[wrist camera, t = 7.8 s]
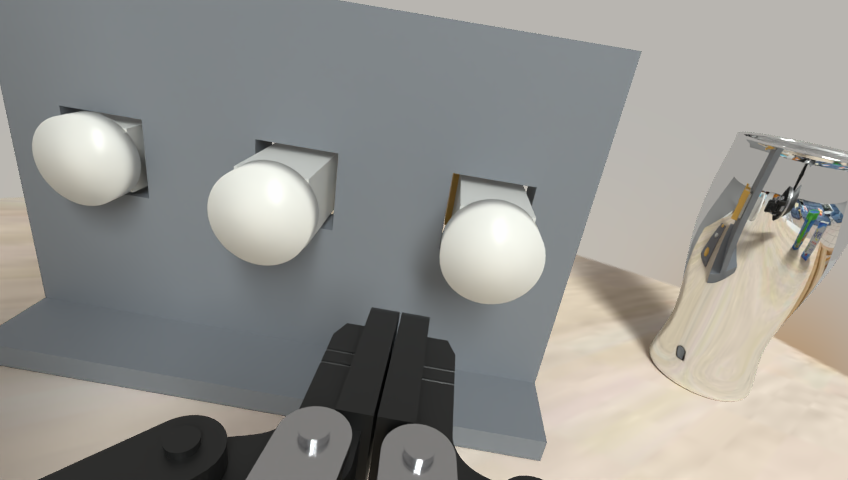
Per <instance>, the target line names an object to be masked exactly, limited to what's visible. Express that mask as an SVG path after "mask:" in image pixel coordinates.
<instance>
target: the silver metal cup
mask: <svg viewBox="0 0 848 480" xmlns="http://www.w3.org/2000/svg"><path fill="white" fill-rule="evenodd" d="M847 244H848V152H847V151H843V150H839V149H834V148H831V147H826V146H822V145H817V144H813V143H808V142H803V141H798V140H794V139H788V138H783V137H778V136H772V135H766V134H760V133H752V132H738V133H737V136H736V139H735V141H734V143H733V145H732V146H731V148H730V150H729V152H728V154H727V156H726V157H725V159H724V161H723V163H722V165H721V167H720V169H719V171H718V172H717V174H716V176H715V178H714V180H713V182H712V184H711V187H710V189H709V191H708V193H707V195H706V198H705V199H704V202H703V205H702V207H701V210H700V213H699V215H698V218H697V220H696V224H695V227H694V231H693V235H692V238H691V242H690V247H689V251H688V256H687V261H686V265H685V270H684V275H683V280H682V285H681V288H680V292H679V296H678V299H677V302H676V304H675V307H674V309H673V311H672V313H671V315H670V317H669V318H668V320H667V322H666V323H665V324H664V326H663V327H662V328H661V330H660V331H659V332H658V334H657V335H656V337H655V338H654V339H653V341H652V343H651V345H650V347H649V354H650V357H651V359H652V361H653V363H654V364H655V365H656V367H657V368H658V369H659V370H660V371H661V372H662V373H663V374H664V375H666V376H667V377H668V378H669V379H671V380H672V381H674V382H675V383H677V384H678V385H680V386H682V387H683V388H685V389H687V390H689V391H691V392H693V393H696V394H698V395H700V396H703V397H706V398H709V399H713V400H718V401H724V402H735V401H740V400H743V399H745V398H746V397H747V396H748V395H749V393H750V391H751V389H752V386H753V383H754V379H755V375H756V372H757V368H758V364H759V362H760V359H761V356H762V354H763V352H764V350H765V348H766V346H767V345H768V343H769V342H770V340H771V339H772V337H773V336H774V334H775V333H776V332H777V331H778V330H779V329H780V327H781V326H782V325H783V324H784V322H785V321H786V320H787V319H788V318H789V317H790V316H791V315H792V314H793V313H794V311H795V310H796V309H797V308H798V307H799V306H800V305H801V304H802V303H803V302H804V301H805V299H806V298H807V297H808V296H809V295H810V294H811V292H812V291H813V290H814V289H815V288H816V287H817V286H818V285H819V283H820V282H821V281H822V280H823V278H824V277H825V276H826V275H827V273H828V272H829V271H830V270H831V268H832V267H833V266H834V264H835V263H836V261H837V260H838V258H839V257H840V255H841V253H842V252H843V250H844V249H845V247H846V245H847Z"/></svg>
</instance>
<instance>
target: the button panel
mask: <svg viewBox="0 0 848 480" xmlns="http://www.w3.org/2000/svg"><path fill="white" fill-rule="evenodd" d="M640 55H641V51H636V50H631V49H625V48H619V47H612V46H606V45H601V44H595V43H589V42H583V41H577V40H571V39H565V38H559V37H553V36H547V35H541V34H536V33H529V32H524V31H518V30H512V29H506V28H500V27H494V26H488V25H482V24H476V23H470V22H464V21H458V20H453V19H447V18H440V17H434V16H429V15H423V14H417V13H410V12H405V11H399V10H393V9H387V8H381V7H375V6H369V5H363V4H357V3H352V2H346V1H340V0H0V85H1V90H2V95H3V100H4V104H5V109H6V114H7V118H8V123H9V128H10V133H11V137H12V142H13V147H14V151H15V156H16V160H17V165H18V170H19V175H20V179H21V184H22V188H23V193H24V198H25V203H26V207H27V212H28V217H29V221H30V226H31V231H32V235H33V240H34V245H35V249H36V254H37V259H38V263H39V268H40V273H41V277H42V282H43V287H44V291H45V296H46V298H44V299H42V300H41V301H39V302H38V303H36V304H34V305H33V306H31V307H30V308H28V309H26V310H25V311H23V312H22V313H20V314H18V315H17V316H15V317H13V318H12V319H10V320H9V321H7V322H5V323H4V324H2V325H1V326H0V365H2V366H7V367H13V368H19V369H24V370H30V371H36V372H41V373H47V374H52V375H58V376H64V377H69V378H75V379H81V380H86V381H92V382H98V383H103V384H109V385H115V386H120V387H126V388H132V389H137V390H143V391H149V392H154V393H160V394H165V395H171V396H177V397H182V398H188V399H194V400H199V401H205V402H211V403H216V404H222V405H228V406H233V407H239V408H245V409H250V410H256V411H262V412H267V413H273V414H278V415H284V416H287V415H289V414H290V413H292V412H294V411H296V410H299V408H300V406H301V404H302V401H303V399H304V397H305V395H306V393H307V390H308V388H309V386H310V384H311V382H312V380H313V377H314V375H315V373H316V371H317V369H318V366H319V364H320V363H321V360H322V358H323V355H324V353H325V351H326V350H327V347H328V344H329V342H330V340H331V338H332V336H333V334H334V333H335V332H336V331H338V330H339V329H340V328H341V327H343V326H344V325H345V324H347V323H350V324H355V325H361V326H365V324H366V321H367V318H368V315H369V313H370V310H371V308H372V307H374V308H380V309H386V310H392V311H397V312H400V316H399V323H400V319H401V315H402V312H404V313H409V314H415V315H421V316H427V317H430V322H429V330H428V337H430V338H436V339H442V340H447V341H448V342H449V344H450V346H451V348H452V350H453V351H454V353H455V382H454V409H453V443H454V446H459V447H465V448H471V449H476V450H482V451H488V452H493V453H499V454H504V455H510V456H516V457H521V458H527V459H533V460H538V461H540V460H541V457H542V454H543V452H544V449H545V446H546V443H547V441H546V436H545V431H544V426H543V422H542V417H541V412H540V407H539V402H538V397H537V393H536V388H535V380H536V377H537V374H538V371H539V368H540V365H541V362H542V359H543V355H544V352H545V349H546V346H547V343H548V340H549V337H550V334H551V331H552V328H553V324H554V321H555V318H556V315H557V312H558V309H559V306H560V303H561V300H562V297H563V293H564V290H565V287H566V284H567V281H568V278H569V275H570V272H571V269H572V266H573V262H574V259H575V256H576V253H577V250H578V247H579V244H580V241H581V238H582V235H583V231H584V228H585V225H586V222H587V219H588V216H589V212H590V209H591V206H592V204H593V200H594V197H595V194H596V191H597V188H598V185H599V182H600V179H601V176H602V172H603V169H604V166H605V163H606V160H607V157H608V154H609V151H610V148H611V144H612V142H613V138H614V135H615V132H616V129H617V126H618V123H619V120H620V117H621V114H622V110H623V107H624V104H625V101H626V98H627V95H628V92H629V89H630V86H631V83H632V79H633V76H634V73H635V70H636V67H637V64H638V61H639V58H640ZM79 111H94V112H100V113H106V114H112V115H117V116H123V117H129V118H135V119H141V120H142V128H143V139H144V149H145V159H146V170H147V180H148V186H146V187H144V188H142V189H140V190H137V191H135V192H129V193H127V194H125V195H123V196H121V197H119V198H117V199H114V200H112V201H110V202H108V203H106V204H103V205H98V206H86V205H81V204H78V203H75V202H72V201H70V200H68V199H66V198H65V197H63V196H61V195H60V194H59V193H57V192H56V191H55V190H54V189H53V188H52V187H51V186H50V185H49V184H48V183H47V182H46V181H45V179H44V178H43V177H42V175H41V174H40V172H39V170H38V168H37V166H36V163H35V161H34V157H33V152H32V141H33V136H34V133H35V131H36V129H37V127H38V126H39V125H40V124H41V123H42V122H43V121H45V120H46V119H48V118H51V117H53V116H58V115H64V114H69V113H74V112H79ZM272 142H275V143H281V144H286V145H292V146H298V147H304V148H310V149H316V150H321V151H327V152H333V153H339V154H338V166H337V179H336V192H335V205H334V214H330V215H329V217H328V218H327V219H326V221H325V222H324V223H323V225H322V226H321V227H320V229H319V230H318V231H317V233H316V234H315V235H314V237H313V238H312V239H311V241H310V242H309V243H308V245H307V246H306V247H304V248H303V249H302V251H301V252H300V253H299V254H298V255H297V256H295V257H294V258H293V259H291V260H289V261H287V262H285V263H282V264H278V265H270V266H265V265H257V264H253V263H250V262H247V261H244V260H242V259H240V258H238V257H237V256H235V255H234V254H232V253H231V252H230V251H228V250H227V249H226V248H225V247H224V246H223V245H222V244H221V242H220V241H219V240H218V238H217V237H216V235H215V234H214V232H213V230H212V228H211V225H210V222H209V218H208V211H207V204H208V198H209V195H210V192H211V190H212V188H213V186H214V185H215V183H216V182H217V181H218V180H219V179H220V178H221V177H222V176H224V175H225V174H227V173H228V172H230V171H232V170H234V166H235V165H237V164H239V163H240V162H242V161H244V160H246V159H248V158H249V157H251V156H253V155H255V154H257V153H258V152H260V151H262V150H264V149H265V148H267V147H269V146H271V145H272ZM453 173H455V174H461V175H467V176H473V177H479V178H485V179H490V180H496V181H502V182H508V183H514V184H520V185H526V186H528V188H527V192H526V194H527V197H528V199H529V202H530V204H531V207H532V209H533V211H534V214H535V216H536V221H535V223H536V225H537V227H538V230H539V233H540V235H541V238H542V240H543V243H544V247H545V254H546V258H545V265H544V269H543V272H542V274H541V276H540V278H539V280H538V281H537V282H536V284H535V285H534V286H533V287H532V288H531V289H530V290H529V291H528V292H527V293H525V294H524V295H522V296H521V297H519V298H517V299H515V300H512V301H509V302H506V303H501V304H482V303H477V302H474V301H471V300H468V299H466V298H464V297H463V296H461V295H459V294H458V293H457V292H456V291H454V290H453V289H452V288H451V286H450V285H449V284H448V283H447V281H446V280H445V278H444V276H443V274H442V271H441V267H440V257H439V256H440V247H441V238H442V234H443V233H442V229H443V224H444V219H445V213H446V208H447V202H448V197H449V192H450V186H451V181H452V175H453ZM399 323H398V327H399ZM397 331H398V330H397Z"/></svg>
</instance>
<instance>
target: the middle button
mask: <svg viewBox="0 0 848 480" xmlns="http://www.w3.org/2000/svg"><path fill="white" fill-rule="evenodd" d="M338 154H339V153H333V152H327V151H321V150H316V149H310V148H304V147H298V146H292V145H286V144H281V143H274V144H273V145H271V146H269V147H267V148H265V149H264V150H262V151H260V152H258V153H257V154H255V155H253V156H251V157H249V158H248V159H246V160H244V161H242V162H240V163H239V164H237V165H235V166H234V170H232V171H230V172H228V173H227V174H225V175H224V176H222V177H221V178H220V179H219V180H218V181H217V182H216V183H215V185H214V186H213V188H212V190H211V192H210V195H209V198H208V204H207V211H208V218H209V222H210V225H211V228H212V230H213V232H214V234H215V235H216V237H217V238H218V240H219V241H220V242H221V244H222V245H223V246H224V247H225V248H226V249H227V250H228V251H230V252H231V253H232V254H234V255H235V256H237V257H238V258H240V259H242V260H244V261H247V262H250V263H253V264H257V265H265V266H270V265H278V264H282V263H285V262H287V261H289V260H291V259H293V258H294V257H295V256H297V255H298V254H299V253H300V252H301V251H302V249H303V248H304V247H306V246H307V245H308V243H309V242H310V241H311V239H312V238H313V237H314V235H315V234H316V233H317V231H318V230H319V229H320V227H321V226H322V225H323V223H324V222H325V221H326V219H327V218H328V217H329V215H330V214H331V213H332V211H333V210H334V205H335V192H336V179H337V166H338Z"/></svg>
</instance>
